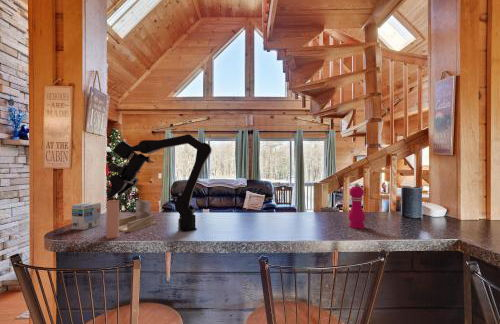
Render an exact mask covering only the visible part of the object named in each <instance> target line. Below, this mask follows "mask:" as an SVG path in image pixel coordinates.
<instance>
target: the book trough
mask: <svg viewBox="0 0 500 324" xmlns="http://www.w3.org/2000/svg"><path fill="white" fill-rule="evenodd" d="M155 224H157V221H155V215H153V214H152V201H151V200H135V214H133V215H130V216H125V217H122V218H119V232H126V233H134V232H135V231H138V230H141V229H144V228H148V227H150V226H153V225H155Z"/></svg>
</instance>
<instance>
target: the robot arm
mask: <svg viewBox="0 0 500 324" xmlns="http://www.w3.org/2000/svg"><path fill="white" fill-rule="evenodd" d="M183 145H189V146H190V147H192V148H193V149H195V150H196V154H195V160H194V165H193V166H192V169H191V172H190V174H189V177H188V179H187V182H186V183H185V184H186V185H185V186H184V189H183V192H182V193H181V192H180V193H178V194H177V196H176V200H175V201H174V203H173V204H174V209H175V211H176V212H177V213H178V214H179V218H178V220H177V221H178V223H177V225H178V226H177V228H178V230H180V231H182V232H187V231H188V232H191V231H195V230H198V228H197V227H196V214H195V211H196V208H195V207H194V206H193V205H191V203H192V198H193V192H194V190H195V187H196V184H197V182H198V180H199V178H200V175H201V172H202V169H203V167H204V165H205V163H206V161H208V159H209V157H210V155H211V154H212V151H213V149H212V146H211V145H210V144H208V143H207V142H201V141H199V140H198V139H196V138H195V137H194V136H193V135H191V134H188V133H187V134H185V135H177V136H174V137H170V138H169V137H167V138H164V139H146V140H145V139H144V140H141V141H139V143H138V144H135V145H133V146H132V145H131V144H129V143H128V142H127V141H125V140H121V141H120V142H119V143H117V145H116V146H115V147H114V148H113V150H112V153H113V154H114V155H115V156H118V157H119V158H120V159H122V160H124V161H127V160H128V162H127V164H123V165H121V164H117V163H116V162H111V163H110V164H108V166H107V168H108V170H107V171H108V172H112V173H116V174H112V175H110V177H109V178H108V181H109V182H110V185H111V186H110V187H111V188H110V190H109V193H108V194H109V195H108V198H110V199H112V198H114V196H116V195H117V196H121V195H123V194H124V193H125V192H127V191H129V189H131V188H133V187H135V185H137V184H138V182H139V178H138V177H137V175H138V174H140V173H141V171H140V170H141V169H142V167H143V166H144V164H145V163H151V162H152V160H151V156H149V155H150V154H153V153H156V152H158V151H160V150H163V149H168V148H174V147H177V146H183ZM137 152H138V153H137ZM146 155H148V156H146Z"/></svg>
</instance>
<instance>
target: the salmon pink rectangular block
mask: <svg viewBox="0 0 500 324" xmlns="http://www.w3.org/2000/svg"><path fill="white" fill-rule="evenodd" d="M119 219H120V199H114V200H113V199H111V200H108V201H106V239H115V238H119V235H120V231H119Z"/></svg>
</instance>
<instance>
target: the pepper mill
mask: <svg viewBox="0 0 500 324" xmlns="http://www.w3.org/2000/svg"><path fill="white" fill-rule="evenodd" d="M364 194H365V192H364V189H363V187H361V186H360V185H359V183H358V182H356V183H354V186H352V187H351V188H350V189H349V195H350V201H351V208H350V210H349V213H348V216H347V218H348V220H349V221H350V222H349V227H350V228H351V229H359V230H361V229H364V228H365V223H364V222H365V220H366V214H365V212H364V210H363V207H362V202H363V196H364Z"/></svg>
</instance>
